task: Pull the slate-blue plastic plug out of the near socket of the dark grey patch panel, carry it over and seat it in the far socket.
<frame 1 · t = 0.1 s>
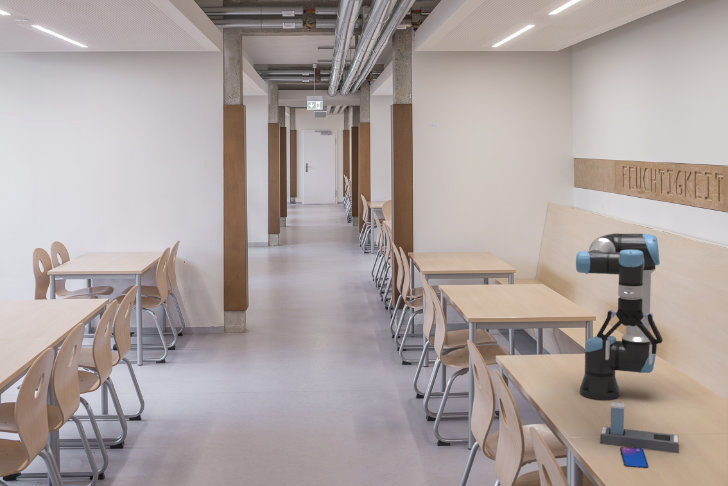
hand: (628, 361, 249), 28 cm above the table, fingers open, 13 cm apart
panel: (639, 443, 251), on the table
smartphone: (633, 459, 239), on the table
plug: (616, 440, 253), resting in panel
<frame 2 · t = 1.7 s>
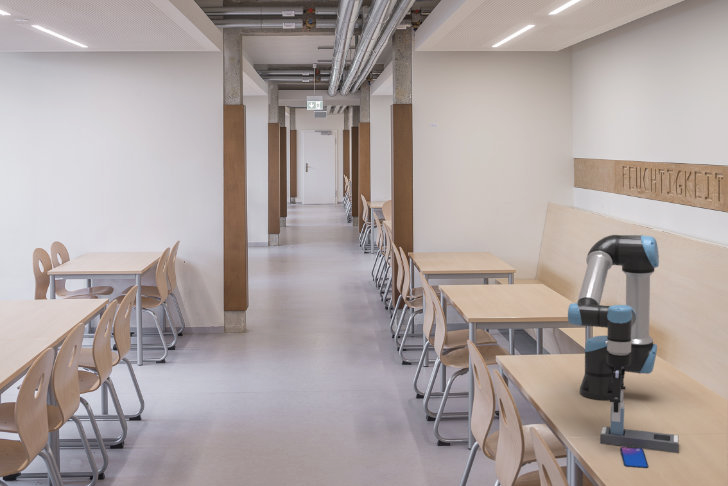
hand: (617, 414, 252), 9 cm above the table, fingers open, 13 cm apart
nothing on the table moved.
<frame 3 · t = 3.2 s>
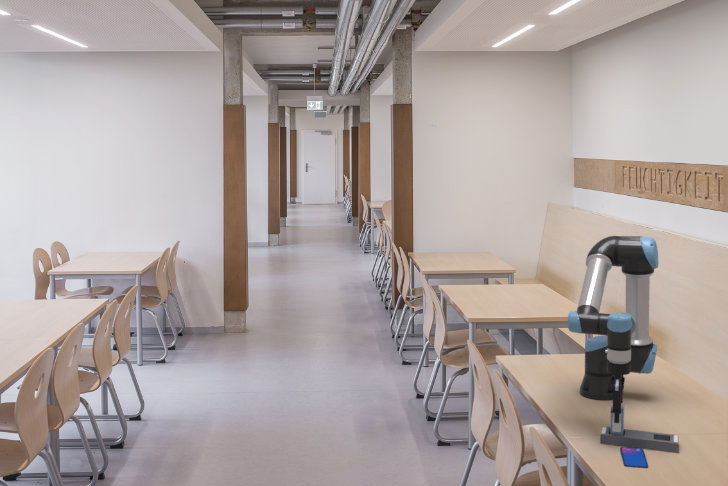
hand: (617, 428, 253), 4 cm above the table, fingers closed on plug, 4 cm apart
plug: (616, 440, 253), resting in panel, touching gripper
everything else where it was.
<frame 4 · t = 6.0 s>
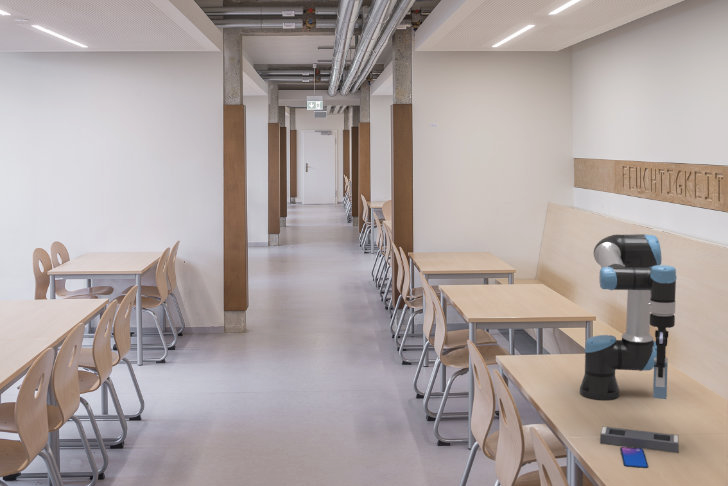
hand: (660, 384, 246), 21 cm above the table, fingers closed on plug, 4 cm apart
plug: (659, 396, 246), point 17 cm above the table, touching gripper
everything else where it was.
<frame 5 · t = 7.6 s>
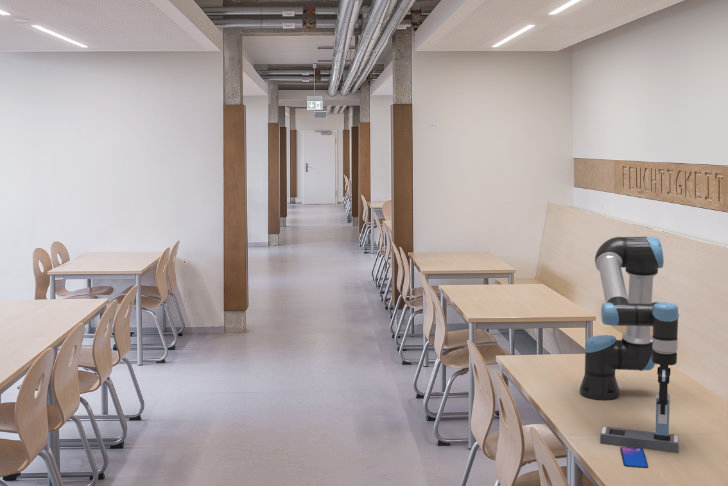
hand: (662, 420, 247), 9 cm above the table, fingers closed on plug, 4 cm apart
plug: (662, 433, 247), point 4 cm above the table, touching gripper
everything else where it was.
when the fingers open (6 cm above the table, at t = 8.8 s): plug drops 1 cm, resting in panel.
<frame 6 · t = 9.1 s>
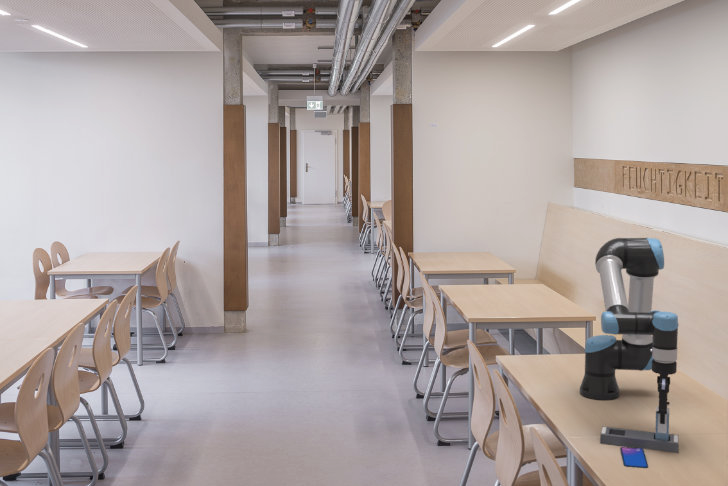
hand: (662, 428, 247), 6 cm above the table, fingers open, 7 cm apart
plug: (661, 446, 248), resting in panel
everything else where it was.
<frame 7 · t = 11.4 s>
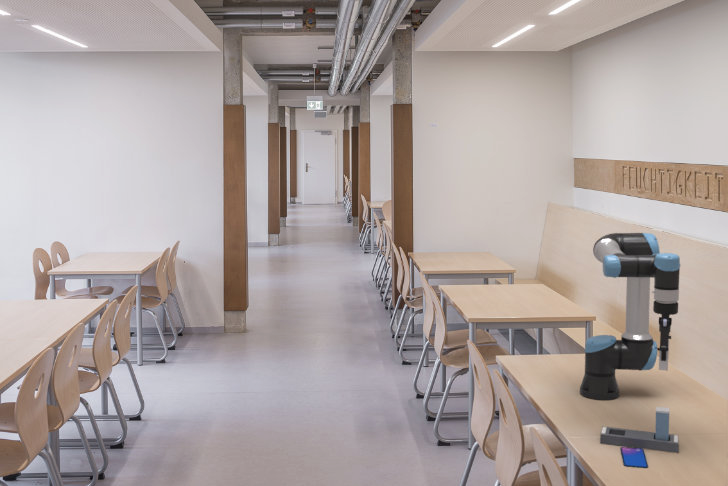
hand: (663, 364, 250), 26 cm above the table, fingers open, 13 cm apart
nothing on the table moved.
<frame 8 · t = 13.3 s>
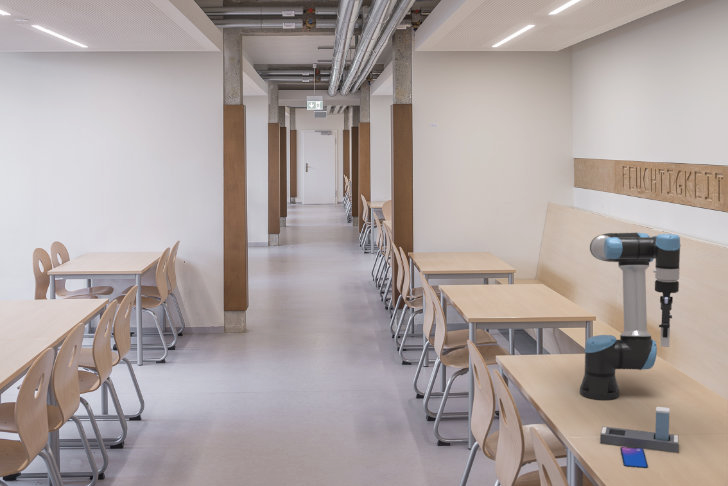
hand: (665, 341, 257), 32 cm above the table, fingers open, 13 cm apart
nothing on the table moved.
at the end: plug 0.0 cm from the target spot on the panel, point 0.0 cm above the panel's base; plug tilted 0°; the gripper is holding nothing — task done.
